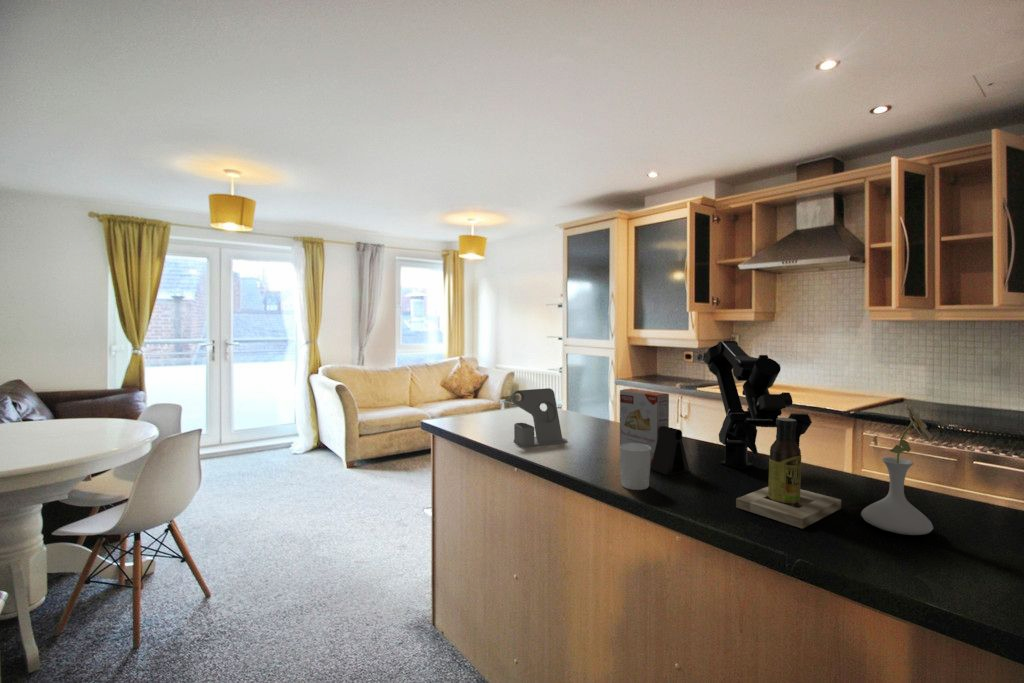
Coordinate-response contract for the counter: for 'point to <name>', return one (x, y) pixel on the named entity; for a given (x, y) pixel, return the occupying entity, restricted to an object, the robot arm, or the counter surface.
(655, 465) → the door stopper
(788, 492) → the sauce bottle
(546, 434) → the phone holder
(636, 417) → the cracker box
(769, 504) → the board
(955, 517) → the counter surface
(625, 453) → the white cup
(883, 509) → the flower in vase
